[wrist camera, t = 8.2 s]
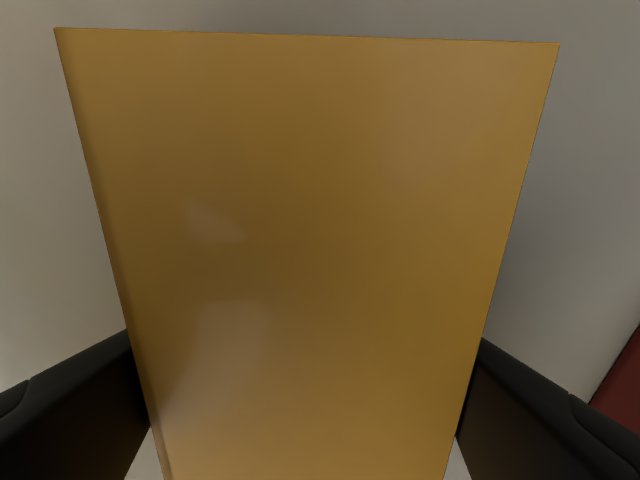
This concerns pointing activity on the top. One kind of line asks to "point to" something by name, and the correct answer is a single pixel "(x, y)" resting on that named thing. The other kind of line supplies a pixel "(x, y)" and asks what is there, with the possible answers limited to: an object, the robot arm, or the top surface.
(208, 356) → the top book
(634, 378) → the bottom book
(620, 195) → the top surface
